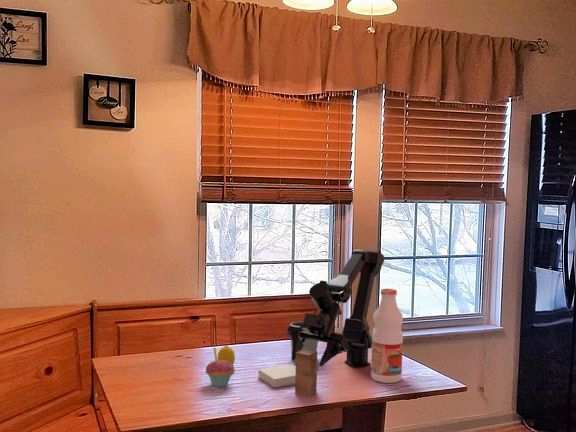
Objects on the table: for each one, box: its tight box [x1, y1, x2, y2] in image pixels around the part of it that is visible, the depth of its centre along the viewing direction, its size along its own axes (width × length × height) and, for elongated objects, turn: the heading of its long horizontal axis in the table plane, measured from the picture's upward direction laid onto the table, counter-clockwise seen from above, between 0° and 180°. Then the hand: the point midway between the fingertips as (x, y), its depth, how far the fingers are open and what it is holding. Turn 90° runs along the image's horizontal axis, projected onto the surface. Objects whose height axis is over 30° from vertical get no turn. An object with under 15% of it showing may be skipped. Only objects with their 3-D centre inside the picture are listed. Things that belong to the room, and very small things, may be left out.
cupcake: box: [205, 345, 236, 388], centre depth 174 cm, size 9×8×12 cm
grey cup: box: [289, 320, 319, 363], centre depth 201 cm, size 10×10×12 cm
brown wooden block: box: [294, 349, 318, 398], centre depth 168 cm, size 4×4×12 cm
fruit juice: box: [370, 288, 404, 384], centre depth 182 cm, size 9×9×28 cm
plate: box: [258, 363, 296, 388], centre depth 180 cm, size 12×10×2 cm
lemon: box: [217, 345, 236, 365], centre depth 187 cm, size 6×6×8 cm
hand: (306, 362), depth 168 cm, fingers open, 9 cm apart
